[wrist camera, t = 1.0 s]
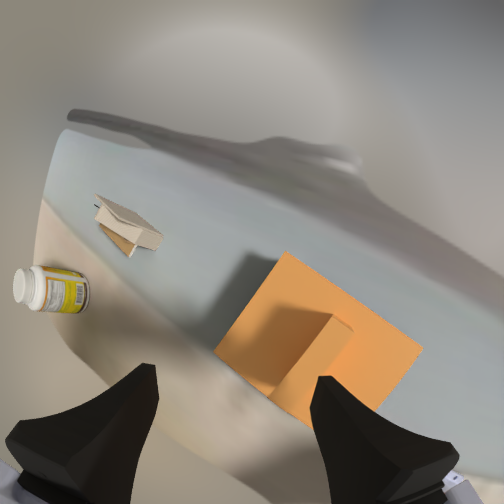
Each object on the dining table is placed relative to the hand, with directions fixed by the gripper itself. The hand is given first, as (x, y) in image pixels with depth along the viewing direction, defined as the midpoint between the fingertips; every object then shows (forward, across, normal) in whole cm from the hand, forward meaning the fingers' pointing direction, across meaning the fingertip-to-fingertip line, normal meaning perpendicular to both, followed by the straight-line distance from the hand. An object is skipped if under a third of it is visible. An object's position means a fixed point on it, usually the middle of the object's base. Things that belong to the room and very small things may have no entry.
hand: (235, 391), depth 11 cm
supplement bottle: (+22, +21, +6) cm, 31 cm away
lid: (+8, -6, +3) cm, 10 cm away
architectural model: (+21, +11, -3) cm, 24 cm away
